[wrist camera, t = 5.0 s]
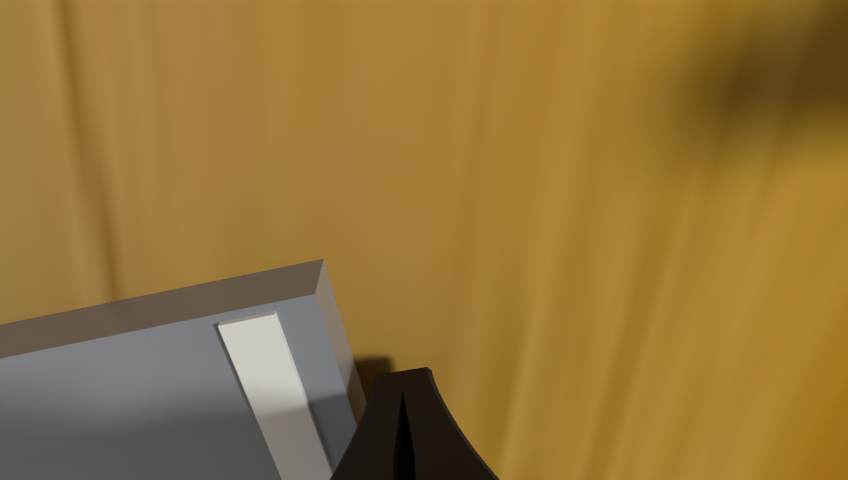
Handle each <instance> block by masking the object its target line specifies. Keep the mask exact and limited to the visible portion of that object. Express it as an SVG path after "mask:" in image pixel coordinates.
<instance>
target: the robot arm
mask: <svg viewBox="0 0 848 480" xmlns="http://www.w3.org/2000/svg"><path fill="white" fill-rule="evenodd" d="M329 480H499V478H498V477H497V476H496V475H495V474H494V473H493V472H492V470H491V469H490V468H489V467H488V466H487V465H486V463H485V462H484V461H483V460H482V458H481V457H480V456H479V455H478V453H477V452H476V451H475V449H474V448H473V447H472V445H471V444H470V443H469V441H468V440H467V438H466V437H465V436H464V434H463V433H462V431H461V430H460V428H459V427H458V425H457V423H456V422H455V420H454V418H453V417H452V415H451V413H450V412H449V410H448V408H447V407H446V405H445V403H444V401H443V399H442V397H441V395H440V393H439V391H438V389H437V386H436V384H435V381H434V378H433V375H432V370H430V369H429V368H427V367H424V368H418V369H411V370H405V371H399V372H392V373H386V374H379V375H378V376H377V377H376V379H375V381H374V385H373V388H372V391H371V394H370V397H369V400H368V402H367V405H366V407H365V410H364V412H363V415H362V417H361V419H360V422H359V424H358V426H357V428H356V430H355V433H354V435H353V437H352V439H351V441H350V443H349V445H348V447H347V449H346V451H345V453H344V454H343V456H342V458H341V460H340V462H339V464H338V466H337V468H336V469H335V471H334V473H333V474H332V476H331V478H330V479H329Z"/></svg>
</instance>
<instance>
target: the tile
mask: <svg viewBox="0 0 848 480" xmlns="http://www.w3.org/2000/svg"><path fill="white" fill-rule="evenodd" d="M366 405H367V402H366V399H365V395H364V392H363V389H362V385H361V382H360V379H359V375H358V372H357V369H356V365H355V362H354V359H353V356H352V352H351V349H350V346H349V342H348V339H347V336H346V332H345V329H344V326H343V322H342V319H341V316H340V312H339V309H338V306H337V302H336V299H335V296H334V292H333V289H332V286H331V282H330V279H329V276H328V272H327V269H326V266H325V263H324V259H321V260H316V261H311V262H306V263H302V264H297V265H292V266H287V267H282V268H277V269H272V270H267V271H262V272H257V273H253V274H248V275H243V276H238V277H233V278H228V279H223V280H218V281H213V282H208V283H204V284H199V285H194V286H189V287H184V288H179V289H174V290H169V291H164V292H159V293H155V294H150V295H145V296H140V297H135V298H130V299H125V300H120V301H115V302H110V303H106V304H101V305H96V306H91V307H86V308H81V309H76V310H71V311H66V312H61V313H56V314H52V315H47V316H42V317H37V318H32V319H27V320H22V321H17V322H12V323H7V324H3V325H0V480H329V479H330V478H331V476H332V474H333V473H334V471H335V469H336V468H337V466H338V464H339V462H340V460H341V458H342V456H343V454H344V453H345V451H346V449H347V447H348V445H349V443H350V441H351V439H352V437H353V435H354V433H355V430H356V428H357V426H358V424H359V422H360V419H361V417H362V415H363V412H364V410H365V407H366Z"/></svg>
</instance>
